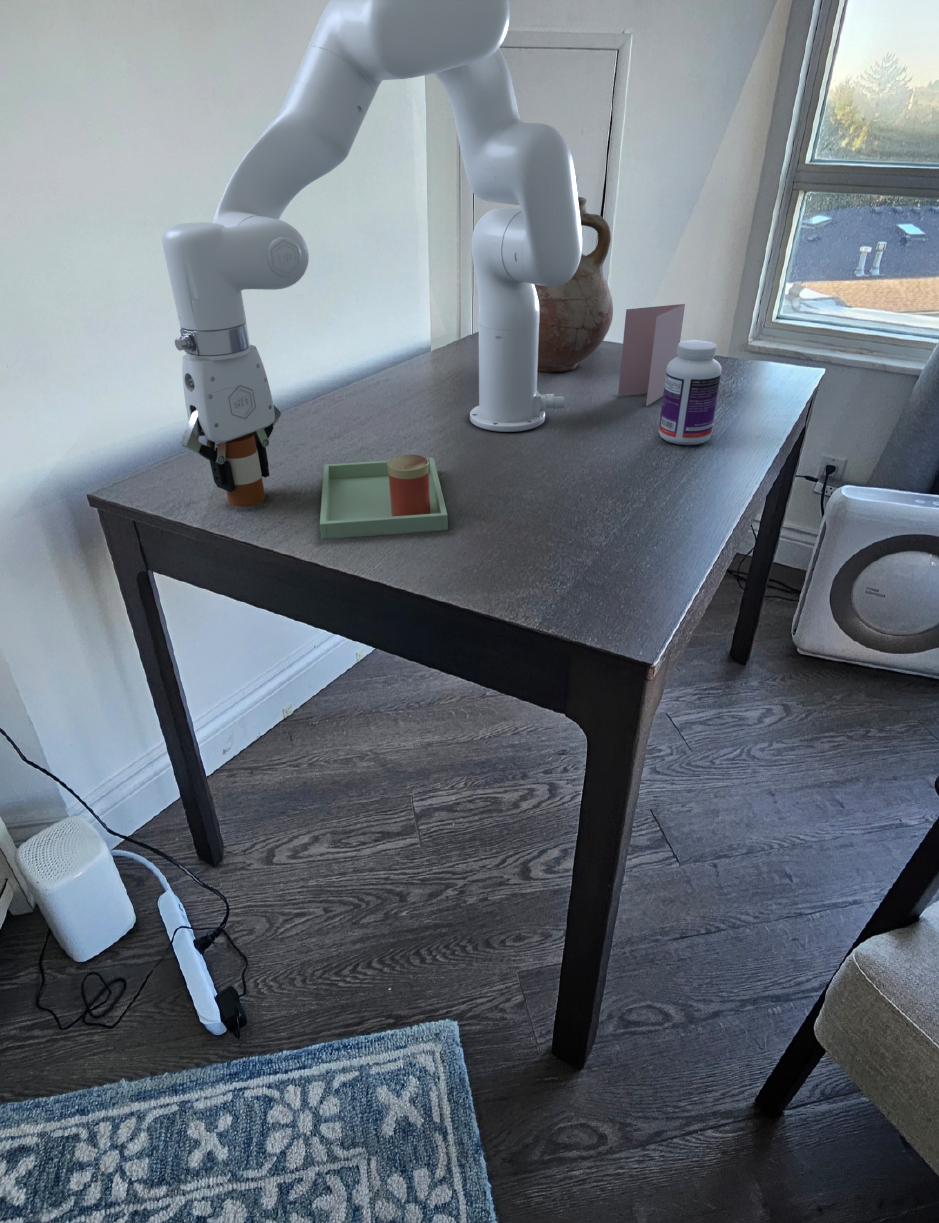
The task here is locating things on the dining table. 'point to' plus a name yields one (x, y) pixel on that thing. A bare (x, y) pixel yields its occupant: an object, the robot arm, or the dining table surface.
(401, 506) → the tea tin
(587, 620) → the dining table surface
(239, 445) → the spice bottle
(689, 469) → the dining table surface
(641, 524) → the dining table surface
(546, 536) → the dining table surface
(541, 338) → the jug
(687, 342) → the pill bottle
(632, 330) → the greeting card
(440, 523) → the tray
